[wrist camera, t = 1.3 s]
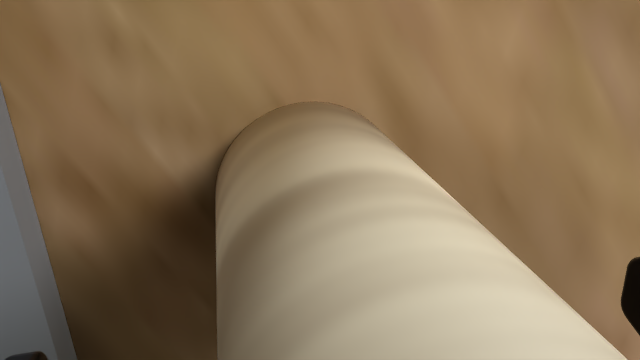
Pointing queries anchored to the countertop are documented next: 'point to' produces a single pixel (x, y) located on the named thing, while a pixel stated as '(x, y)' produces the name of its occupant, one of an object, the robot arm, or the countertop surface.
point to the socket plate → (25, 265)
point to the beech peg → (367, 256)
